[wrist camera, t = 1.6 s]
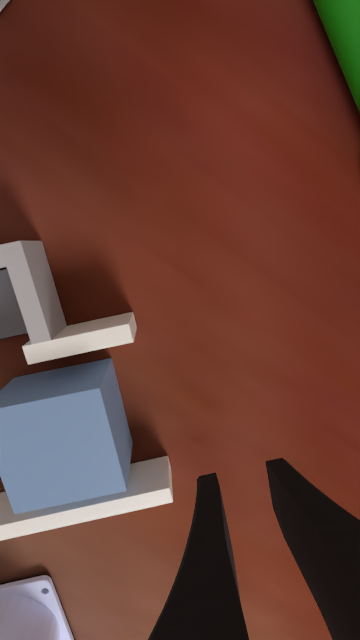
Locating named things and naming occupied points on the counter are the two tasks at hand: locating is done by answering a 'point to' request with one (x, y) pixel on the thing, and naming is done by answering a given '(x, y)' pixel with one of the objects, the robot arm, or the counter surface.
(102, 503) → the trap box
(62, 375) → the block
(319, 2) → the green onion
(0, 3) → the light bulb box
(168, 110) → the counter surface
